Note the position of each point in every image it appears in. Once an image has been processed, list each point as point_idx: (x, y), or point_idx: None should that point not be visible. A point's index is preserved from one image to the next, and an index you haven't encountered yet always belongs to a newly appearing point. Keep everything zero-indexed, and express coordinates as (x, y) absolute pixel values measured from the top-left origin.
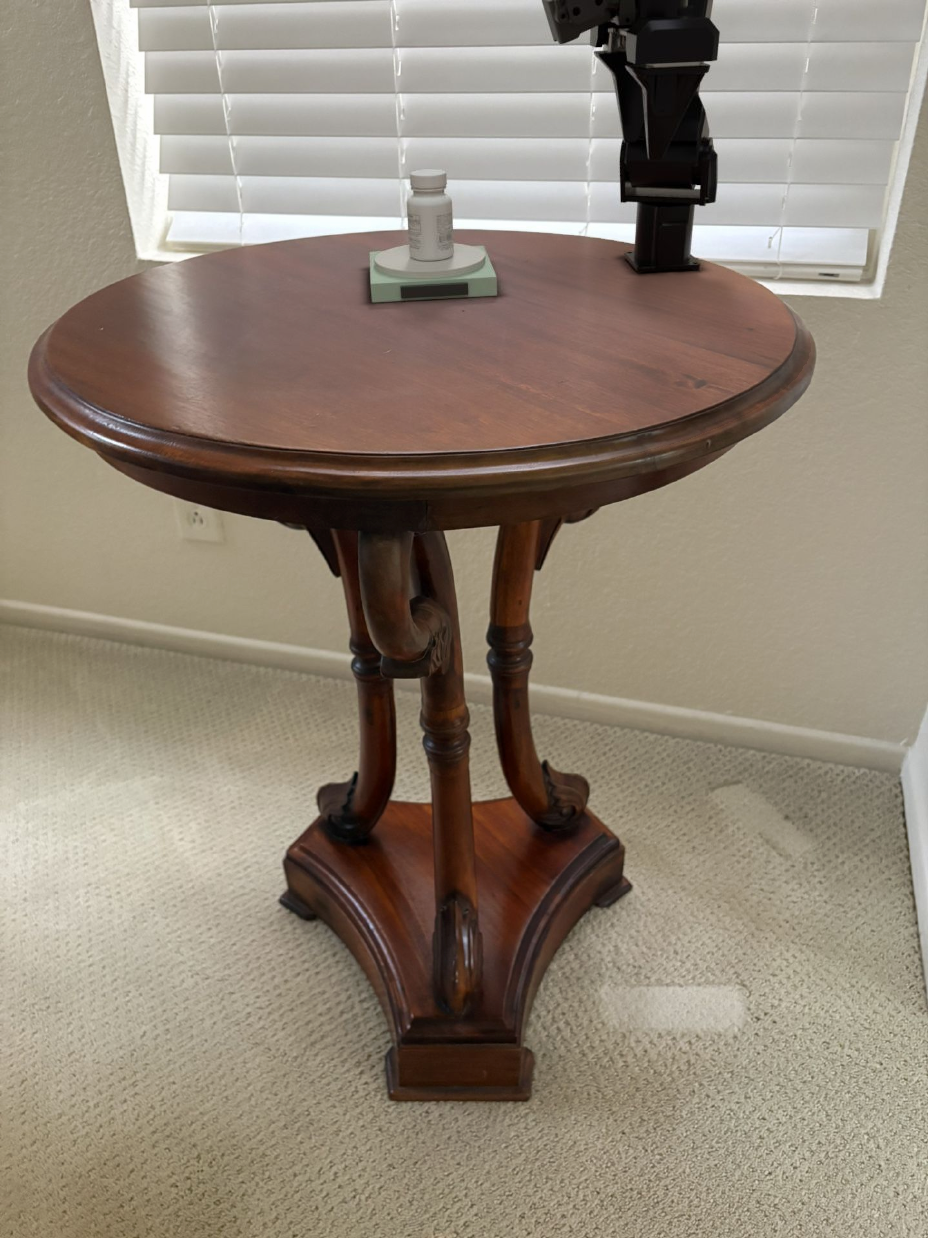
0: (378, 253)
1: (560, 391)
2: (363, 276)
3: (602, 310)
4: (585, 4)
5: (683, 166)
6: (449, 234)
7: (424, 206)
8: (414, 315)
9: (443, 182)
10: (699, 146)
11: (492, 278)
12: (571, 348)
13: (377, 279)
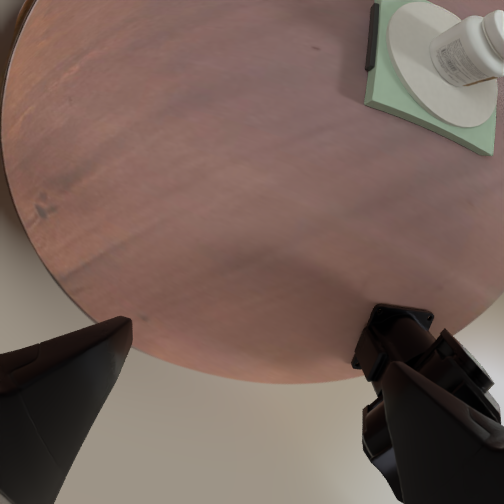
0: None
1: (56, 96)
2: None
3: (255, 203)
4: None
5: (375, 421)
6: (452, 65)
7: (465, 21)
8: (317, 3)
9: (497, 45)
10: (371, 455)
11: (371, 95)
12: (139, 124)
13: None
